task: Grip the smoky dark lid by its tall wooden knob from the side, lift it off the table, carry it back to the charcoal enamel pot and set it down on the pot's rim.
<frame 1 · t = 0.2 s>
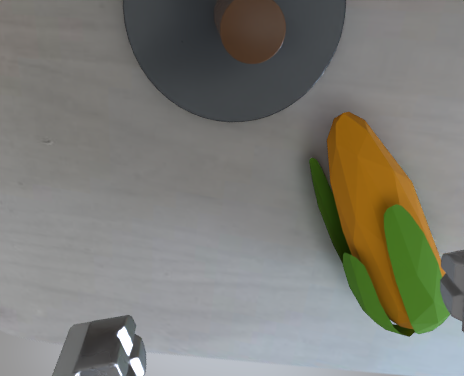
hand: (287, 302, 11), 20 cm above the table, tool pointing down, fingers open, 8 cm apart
lid: (235, 14, 26), point 1 cm above the table
corn: (362, 209, 34), on the table
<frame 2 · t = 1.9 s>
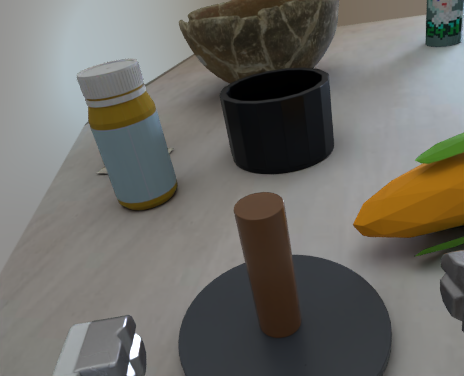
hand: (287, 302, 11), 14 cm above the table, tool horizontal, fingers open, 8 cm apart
lid: (281, 327, 28), point 1 cm above the table
bowl: (267, 86, 79), on the table
pot: (282, 149, 53), on the table
can: (443, 43, 82), on the table
bottle: (150, 197, 49), on the table
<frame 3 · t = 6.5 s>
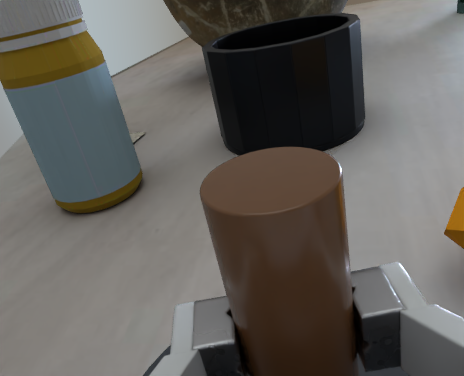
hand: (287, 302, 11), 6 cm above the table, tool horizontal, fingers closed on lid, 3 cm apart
bowl: (267, 63, 64), on the table
pot: (291, 128, 38), on the table
bottle: (103, 195, 34), on the table
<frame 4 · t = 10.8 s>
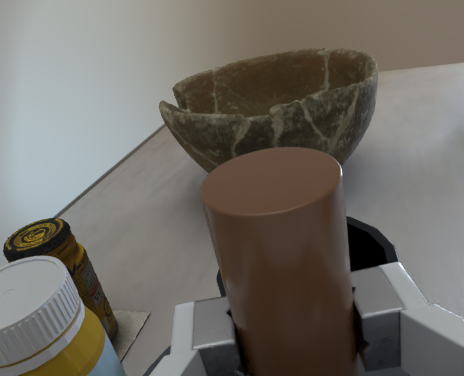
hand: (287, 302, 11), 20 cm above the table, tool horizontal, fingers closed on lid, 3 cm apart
condiment: (94, 341, 39), on the table
bowl: (279, 180, 60), on the table
pot: (316, 344, 34), on the table
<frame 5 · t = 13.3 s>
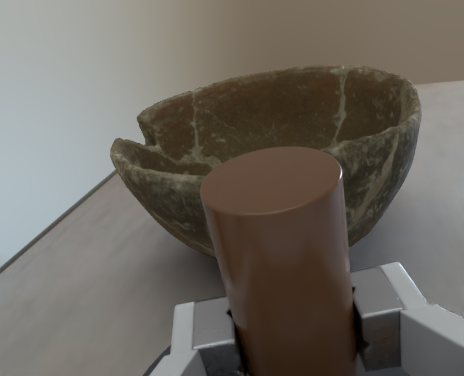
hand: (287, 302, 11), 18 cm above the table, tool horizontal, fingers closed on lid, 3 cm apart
bowl: (278, 241, 45), on the table
when the fingers open (14 cm above the table, at t = 14.9 s): lid stays where it is, resting on pot.
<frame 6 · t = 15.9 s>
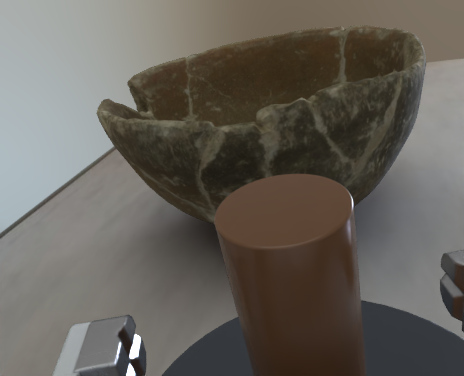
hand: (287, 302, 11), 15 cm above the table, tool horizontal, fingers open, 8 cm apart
bowl: (275, 210, 43), on the table
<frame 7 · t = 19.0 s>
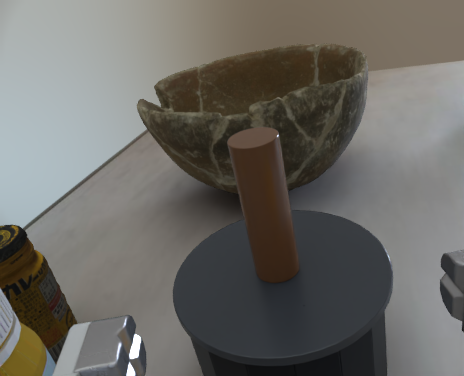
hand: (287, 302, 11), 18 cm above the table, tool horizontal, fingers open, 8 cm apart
condiment: (57, 357, 36), on the table
lid: (278, 275, 27), point 8 cm above the table, touching pot
bowl: (266, 183, 57), on the table
pot: (294, 364, 31), on the table
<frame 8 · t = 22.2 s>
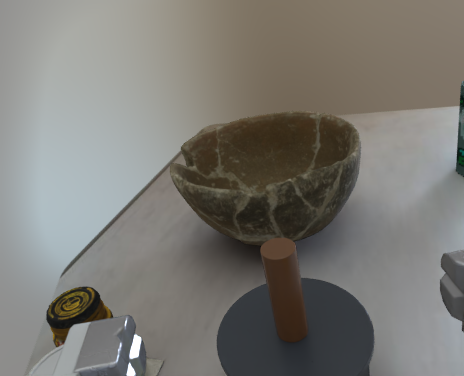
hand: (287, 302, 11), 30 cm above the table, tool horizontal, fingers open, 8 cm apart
lid: (293, 334, 37), point 8 cm above the table, touching pot
bowl: (275, 229, 67), on the table
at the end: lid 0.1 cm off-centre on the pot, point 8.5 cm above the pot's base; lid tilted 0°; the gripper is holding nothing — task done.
